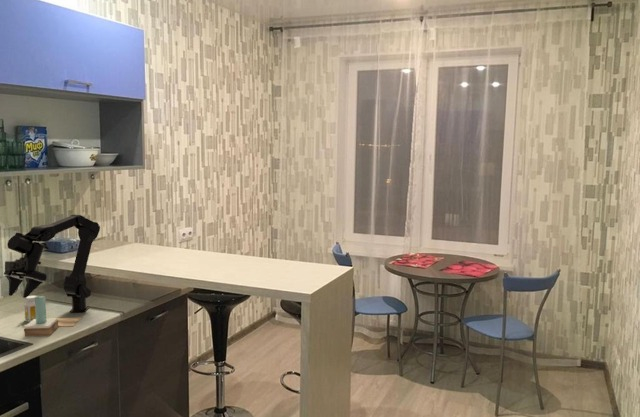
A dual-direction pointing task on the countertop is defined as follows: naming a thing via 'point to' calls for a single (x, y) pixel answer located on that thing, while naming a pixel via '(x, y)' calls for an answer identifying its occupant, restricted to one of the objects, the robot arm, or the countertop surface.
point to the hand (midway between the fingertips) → (17, 296)
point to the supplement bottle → (30, 308)
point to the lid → (40, 315)
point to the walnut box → (41, 330)
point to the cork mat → (67, 322)
